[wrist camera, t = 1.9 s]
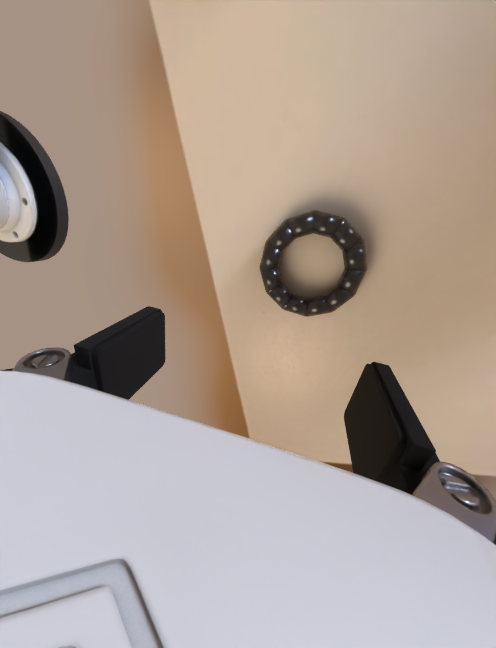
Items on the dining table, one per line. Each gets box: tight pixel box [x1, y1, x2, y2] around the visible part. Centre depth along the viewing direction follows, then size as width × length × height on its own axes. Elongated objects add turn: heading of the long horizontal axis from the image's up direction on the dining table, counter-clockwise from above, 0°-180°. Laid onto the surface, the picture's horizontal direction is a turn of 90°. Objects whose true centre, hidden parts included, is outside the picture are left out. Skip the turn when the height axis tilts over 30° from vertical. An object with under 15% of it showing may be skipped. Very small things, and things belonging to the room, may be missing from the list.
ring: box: [260, 211, 367, 316], centre depth 22 cm, size 10×10×2 cm
